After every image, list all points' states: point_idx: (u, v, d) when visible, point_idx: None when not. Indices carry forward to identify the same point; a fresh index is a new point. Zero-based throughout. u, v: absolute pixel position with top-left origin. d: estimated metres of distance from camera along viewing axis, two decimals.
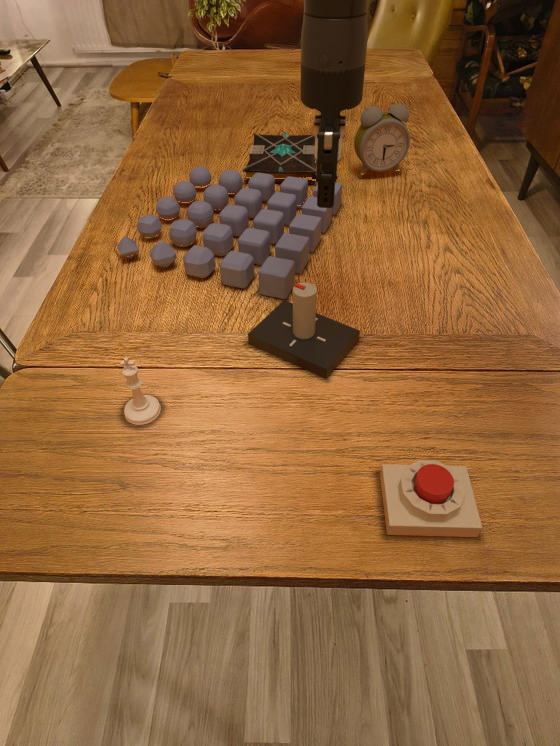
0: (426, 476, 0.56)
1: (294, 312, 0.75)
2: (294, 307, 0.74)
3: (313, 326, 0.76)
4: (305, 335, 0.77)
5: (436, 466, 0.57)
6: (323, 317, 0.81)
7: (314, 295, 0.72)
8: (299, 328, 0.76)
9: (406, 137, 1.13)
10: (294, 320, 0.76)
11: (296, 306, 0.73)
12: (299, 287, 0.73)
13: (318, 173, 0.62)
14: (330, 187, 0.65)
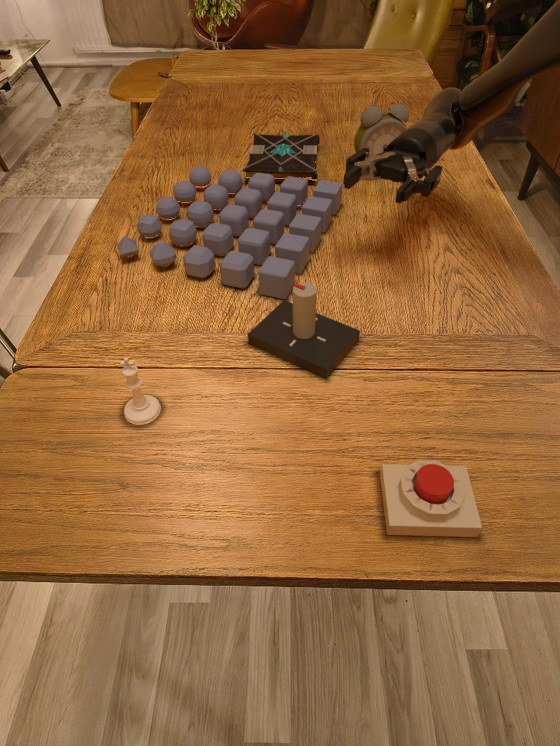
0: (426, 476, 0.56)
1: (294, 312, 0.75)
2: (294, 307, 0.74)
3: (313, 326, 0.76)
4: (305, 335, 0.77)
5: (436, 466, 0.57)
6: (323, 317, 0.81)
7: (314, 295, 0.72)
8: (299, 328, 0.76)
9: None
10: (294, 320, 0.76)
11: (296, 306, 0.73)
12: (299, 287, 0.73)
13: None
14: (350, 169, 0.80)
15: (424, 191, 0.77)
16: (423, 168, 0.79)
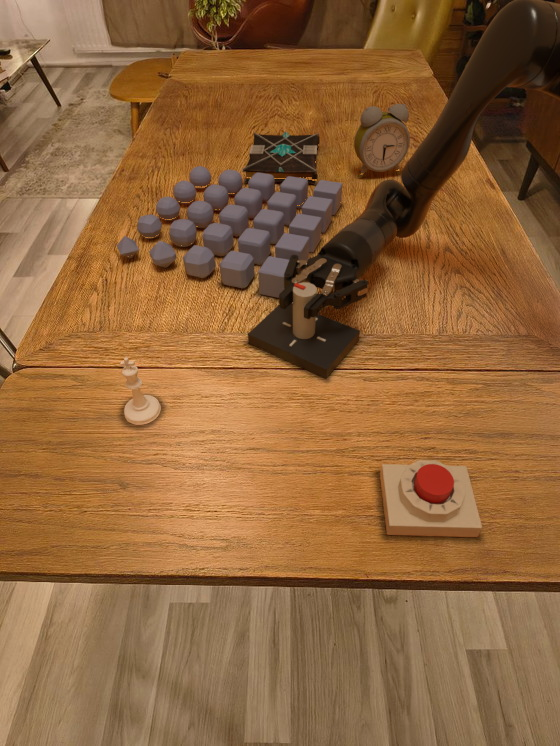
0: (426, 476, 0.56)
1: (294, 312, 0.75)
2: (294, 307, 0.74)
3: (313, 326, 0.76)
4: (305, 335, 0.77)
5: (436, 466, 0.57)
6: (323, 317, 0.81)
7: (314, 295, 0.72)
8: (299, 328, 0.76)
9: (406, 137, 1.13)
10: (294, 320, 0.76)
11: (296, 306, 0.73)
12: (299, 287, 0.73)
13: None
14: None
15: (334, 304, 0.73)
16: (351, 278, 0.76)
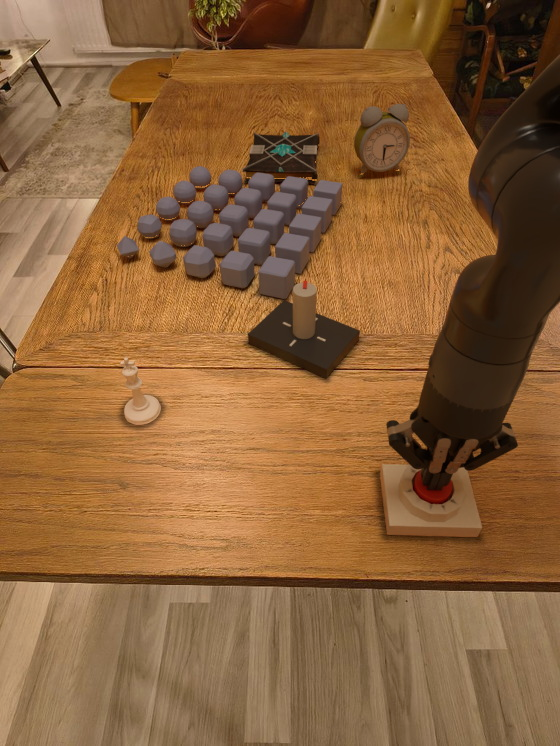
0: None
1: None
2: None
3: (303, 329, 0.76)
4: (294, 332, 0.77)
5: None
6: (323, 317, 0.81)
7: (303, 298, 0.72)
8: None
9: (406, 137, 1.13)
10: None
11: None
12: (303, 285, 0.73)
13: None
14: (426, 471, 0.54)
15: None
16: None
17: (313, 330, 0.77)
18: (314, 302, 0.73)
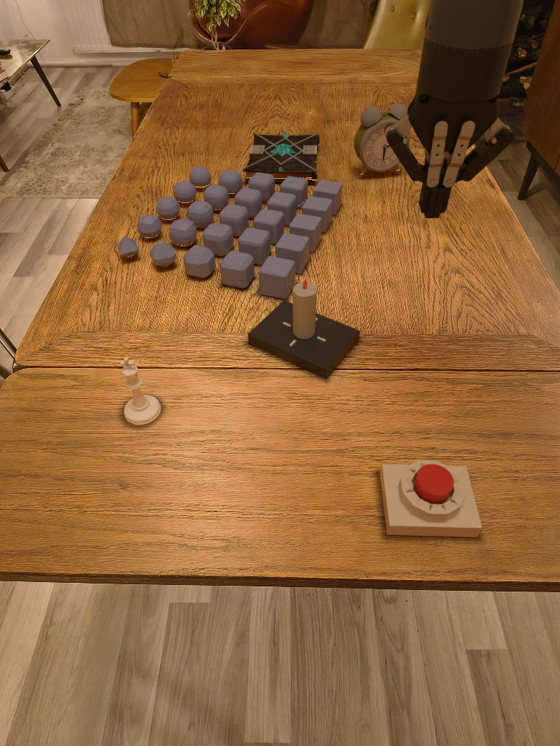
0: (426, 476, 0.56)
1: None
2: None
3: (303, 329, 0.76)
4: (294, 332, 0.77)
5: (436, 466, 0.57)
6: (323, 317, 0.81)
7: (303, 298, 0.72)
8: None
9: None
10: None
11: None
12: (303, 285, 0.73)
13: None
14: (423, 190, 0.55)
15: None
16: None
17: (313, 330, 0.77)
18: (314, 302, 0.73)
